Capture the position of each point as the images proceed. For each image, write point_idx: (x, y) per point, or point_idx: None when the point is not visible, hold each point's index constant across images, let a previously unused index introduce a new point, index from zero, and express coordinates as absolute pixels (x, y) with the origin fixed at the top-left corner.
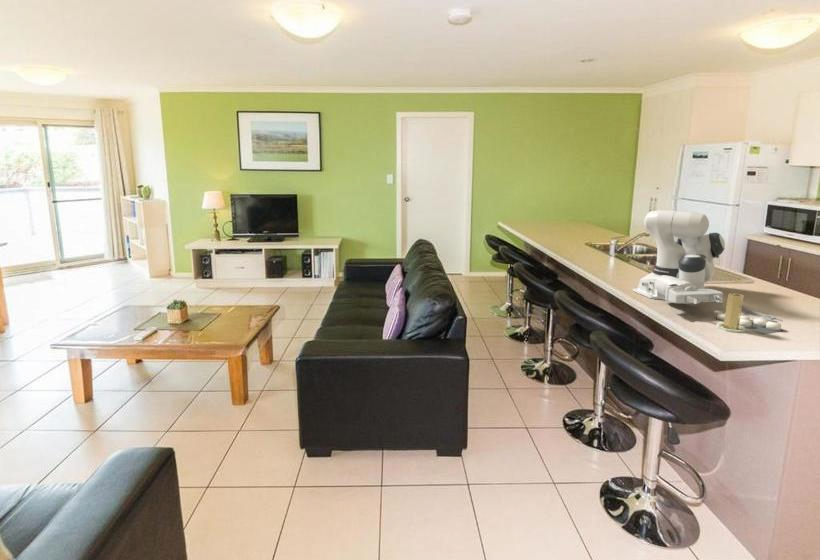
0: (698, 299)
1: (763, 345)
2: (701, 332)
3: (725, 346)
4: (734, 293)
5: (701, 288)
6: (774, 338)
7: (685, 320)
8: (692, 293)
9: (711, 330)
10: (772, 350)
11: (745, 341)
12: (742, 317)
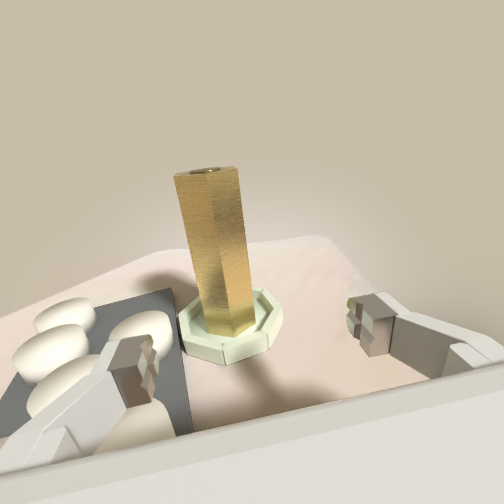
0: (362, 296)
1: None
2: None
3: (315, 246)
4: (192, 174)
5: None
6: (152, 288)
7: None
8: (452, 408)
9: (305, 319)
10: None
11: (250, 267)
12: (87, 372)
